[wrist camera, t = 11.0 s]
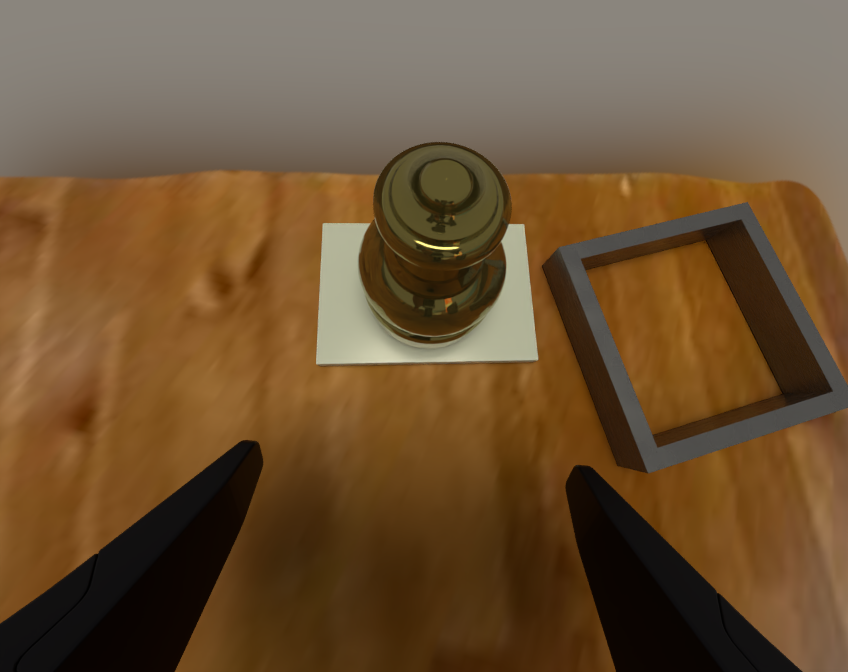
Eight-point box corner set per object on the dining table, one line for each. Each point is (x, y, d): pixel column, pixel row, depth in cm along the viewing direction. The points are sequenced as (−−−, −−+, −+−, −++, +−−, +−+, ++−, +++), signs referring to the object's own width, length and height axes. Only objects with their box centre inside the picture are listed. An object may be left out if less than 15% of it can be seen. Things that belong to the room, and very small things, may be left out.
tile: (519, 230, 23) (523, 224, 22) (533, 362, 20) (538, 360, 20) (325, 230, 22) (322, 223, 21) (319, 365, 20) (316, 364, 19)
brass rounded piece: (372, 357, 19) (336, 300, 10) (362, 241, 21) (324, 91, 11) (496, 344, 20) (582, 277, 10) (477, 232, 21) (535, 81, 12)
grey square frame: (804, 405, 21) (857, 404, 18) (617, 465, 19) (648, 473, 17) (712, 224, 23) (747, 202, 21) (542, 265, 22) (558, 247, 20)
